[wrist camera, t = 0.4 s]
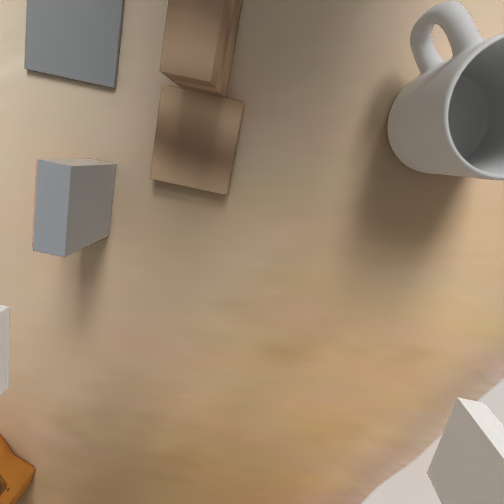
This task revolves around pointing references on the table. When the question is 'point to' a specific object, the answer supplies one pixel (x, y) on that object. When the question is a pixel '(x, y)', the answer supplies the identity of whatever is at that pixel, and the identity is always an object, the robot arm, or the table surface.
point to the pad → (74, 39)
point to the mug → (452, 100)
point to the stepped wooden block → (198, 96)
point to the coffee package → (13, 475)
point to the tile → (71, 204)
